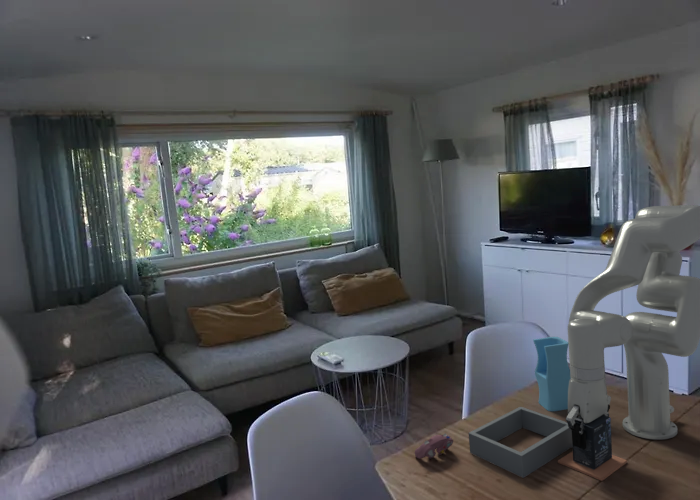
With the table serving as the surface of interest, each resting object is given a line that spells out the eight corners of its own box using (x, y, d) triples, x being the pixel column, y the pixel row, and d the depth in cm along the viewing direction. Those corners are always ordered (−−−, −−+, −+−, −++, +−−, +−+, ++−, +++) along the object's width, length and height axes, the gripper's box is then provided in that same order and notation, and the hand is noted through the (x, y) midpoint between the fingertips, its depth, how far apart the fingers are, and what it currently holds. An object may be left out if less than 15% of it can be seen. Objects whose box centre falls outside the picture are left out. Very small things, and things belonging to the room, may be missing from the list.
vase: (536, 401, 159) (532, 339, 157) (560, 397, 160) (556, 336, 157) (549, 412, 151) (545, 346, 149) (574, 408, 152) (570, 343, 150)
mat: (583, 446, 131) (583, 444, 131) (627, 462, 122) (626, 460, 121) (558, 462, 124) (558, 460, 124) (602, 481, 115) (601, 478, 115)
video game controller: (422, 468, 131) (427, 450, 128) (412, 454, 135) (417, 436, 131) (452, 455, 136) (458, 438, 132) (441, 442, 139) (447, 424, 136)
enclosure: (521, 424, 145) (520, 406, 145) (575, 444, 132) (574, 424, 131) (470, 452, 133) (468, 432, 133) (523, 478, 120) (521, 455, 119)
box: (595, 470, 119) (592, 427, 117) (572, 461, 123) (570, 420, 122) (613, 458, 123) (611, 416, 122) (590, 449, 128) (588, 409, 126)
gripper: (592, 358, 128) (595, 422, 130) (551, 378, 119) (555, 447, 121) (622, 364, 122) (625, 432, 124) (581, 386, 113) (585, 459, 114)
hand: (590, 439), depth 122 cm, fingers open, 9 cm apart
